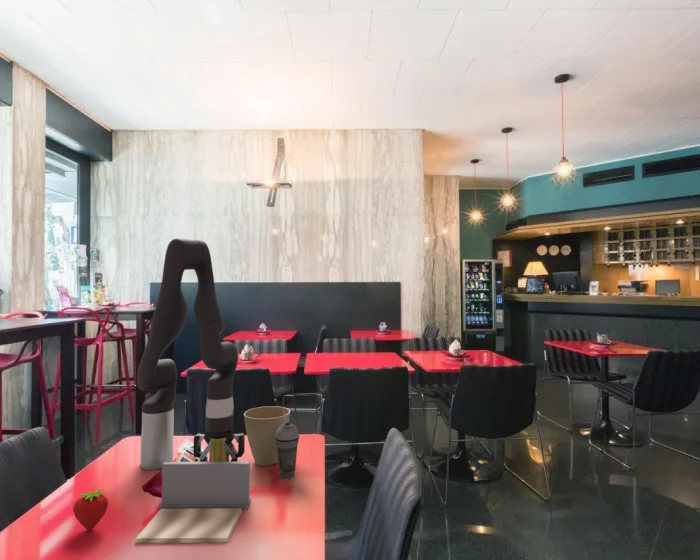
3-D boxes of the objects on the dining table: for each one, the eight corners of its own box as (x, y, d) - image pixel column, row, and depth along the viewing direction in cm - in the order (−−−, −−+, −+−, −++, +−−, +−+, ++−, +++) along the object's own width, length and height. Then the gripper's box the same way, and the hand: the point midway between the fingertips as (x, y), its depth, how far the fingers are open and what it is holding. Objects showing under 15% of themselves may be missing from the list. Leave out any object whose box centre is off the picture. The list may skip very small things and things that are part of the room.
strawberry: (86, 521, 95) (87, 478, 95) (114, 523, 94) (115, 480, 94) (64, 535, 89) (66, 490, 90) (94, 538, 88) (95, 493, 88)
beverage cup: (294, 482, 114) (294, 413, 115) (270, 480, 116) (271, 411, 117) (302, 472, 122) (302, 406, 122) (279, 469, 123) (280, 404, 124)
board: (135, 543, 87) (135, 538, 87) (160, 512, 99) (161, 508, 99) (227, 542, 87) (227, 537, 87) (241, 512, 99) (241, 508, 99)
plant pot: (299, 458, 132) (299, 410, 132) (267, 475, 119) (267, 421, 120) (266, 449, 140) (266, 403, 140) (233, 464, 127) (234, 413, 128)
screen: (159, 510, 100) (160, 466, 100) (166, 502, 104) (167, 459, 104) (246, 510, 100) (247, 465, 100) (250, 502, 104) (250, 459, 104)
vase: (234, 484, 113) (235, 434, 114) (219, 494, 108) (220, 441, 108) (218, 480, 116) (219, 431, 117) (202, 489, 110) (203, 437, 111)
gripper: (189, 417, 109) (188, 477, 108) (241, 416, 109) (240, 477, 108) (199, 409, 116) (198, 466, 116) (248, 409, 117) (247, 465, 116)
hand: (219, 471), depth 112 cm, fingers open, 7 cm apart
